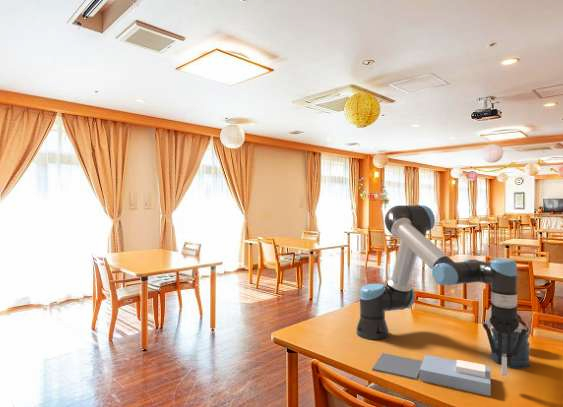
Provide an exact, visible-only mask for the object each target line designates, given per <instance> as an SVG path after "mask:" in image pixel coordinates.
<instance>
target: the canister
mask: <svg viewBox="0 0 563 407" xmlns="http://www.w3.org/2000/svg"><path fill="white" fill-rule="evenodd" d="M519 325H520V326H522V327H525V326H523V325H522V324H521V323H519ZM526 327H527V326H526ZM526 327H525V328H526ZM527 328H528V327H527ZM527 328H526V330H527ZM490 330H491V334H492V338H493V341H494V345H495V348H496V349H498V333H497V331H496V330H495V328H494V327H493V326H491V328H490ZM517 335H518V328H517V329H516V330H515V331H514V332H513V333H511V351H513V348H514V345H515V342H516V338H517ZM529 338H530V333H529V332H528V333H527V332H526V334H525V335H524V336H523V338H522V342H521V345H520V348H519V352H518V355H517V356H516V357H515V356H512V357H511V366H507V368H512V369H526V368H528V367H529V365H530V363H531V362H530V360H531V359H530V345H531V344H530V341H529ZM502 354H506V333H502ZM490 356H491V359H492V361H493V362H495V363H497V364H498V355H497V354H496V353H493V352H492V351H491V352H490Z"/></svg>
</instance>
